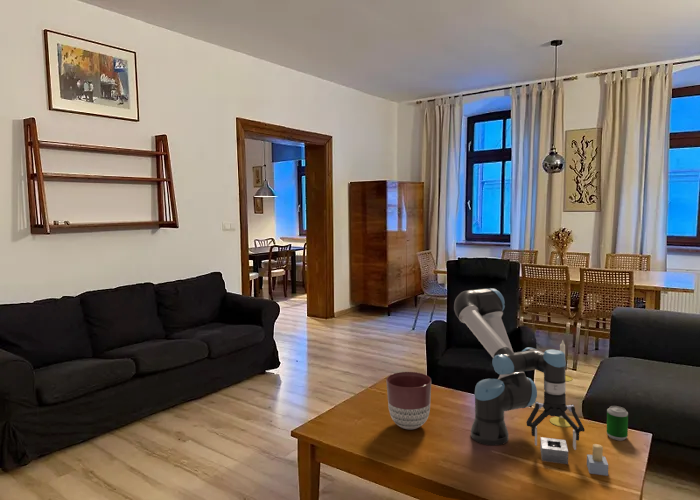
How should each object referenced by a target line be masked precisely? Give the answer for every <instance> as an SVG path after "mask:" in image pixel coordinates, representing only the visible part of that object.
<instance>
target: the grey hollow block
mask: <svg viewBox="0 0 700 500" xmlns="http://www.w3.org/2000/svg"><path fill="white" fill-rule="evenodd" d="M551 443H554V444H557V445H558V447H550V444H551ZM539 444H540V448H539V449H540V457H541V462H546V463H555V464H563V465H568V464H569V449H568V444H567V441H566V439H559V438H552V437H551V438H550V437H543V436H542V437H541V436H540V443H539Z"/></svg>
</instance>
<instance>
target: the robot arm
mask: <svg viewBox="0 0 700 500" xmlns="http://www.w3.org/2000/svg"><path fill="white" fill-rule="evenodd" d="M505 304H506V303H505V298H504V296H503V294H502V293H501V292H500V291H499V290H497V289H496V288H491V287H490V288H488V287H487V288H478V289H469V290H464V291H461V292H460V293H459V294H458V295H457V296H456V297H455V300H454V304H453V311H454V313H455V316H456V317H457V318H458V320H459V322H460V323H463V324H465V325H466V326H467V328H469V330H470V332H472V334H473V335H474V336H475V337H476V339H477V340H478V342H480V344H481V345H482V346H483V348H484V349H485V350H486V351H487V353H488V354H489V355H490V356H491V358H492V364H491V365H492V367H493V370H494V371H495V373H497V374H498V375H499V376H498V378H485V379H484V378H483V379H481V380H479V381H478V382H477V383H476V385H475V388H474V413H475V414H474V420H473V422H472V425H471V429H470V437H471V439H473V440H474V441H475V442H477V443H479V444H482V445H486V446H501V445H504V444H506V443H508V442H509V437H510V436H509V435H510V434H509V430H508V428H507V425H506V422H505V412H508V411H513V410H519V409H526V408H527V407H531V406H533V405H534V408H533V409H532V411H531V413H530V415H529V416H528V419H526V421H525V423H526V427H529V428H530V429H531V430H530V431H531V436H532V437H534V446H536V447H537V446H538V428H537V427H538V425H539V424H540V423H542V422H543V421H544V420H545V418H547V417H549V416H550V417H560V416H562V417H563V418H564V419H565V420H566V421H567V422H568V423H569V424H570V425H571V427H570V428H572V448H573V450H575V451H576V450H577V441H580V433H581V432H585V426H584V425H583V423H582V422H581V421H582V420H581V419H580V418H579V416H578V414H577V412H576V407H575V404H573V403H572V404H569V405H567V403H566V397H567V396H566V390H567V389H566V382H565V375H567V372H566V369H567V368H566V366H567V363H566V353H565V354H564V353H563V352H562V351H560V349H559V350H558V349H546V350H545V351H542V350H539V349H538V348H534V347H525V348H524V349H522V350H521V351H517V352H516V351H515V352H514V349H513V348H512V344H511V342H510V339H509V336H508V334H507V333H508V332H507V330H506V327H505V325H504V322H503V319H502V317H503V315H504V310H505V307H506V305H505ZM530 371H538V372H541V373H543V403H541V402H539V401H537V398H538V390H537V385H536V383H535V382H534V381H533V380H532V378H530V377H527V376H526V373H525V372H530ZM542 408H543V409H544V410H543V411H542V412H541V413H540V414H539V416H537V417H536V415H537V414H538V412H539V410H540V409H542ZM567 410H568V411H569V412H570V413H571V414H572V416H573V417H574V419H575V421H576V422H574V421H573V420H572V419H571V418H570V417H569V416H568V414H567V413H566V412H567ZM535 417H536V418H535ZM576 423H577V424H576Z"/></svg>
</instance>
